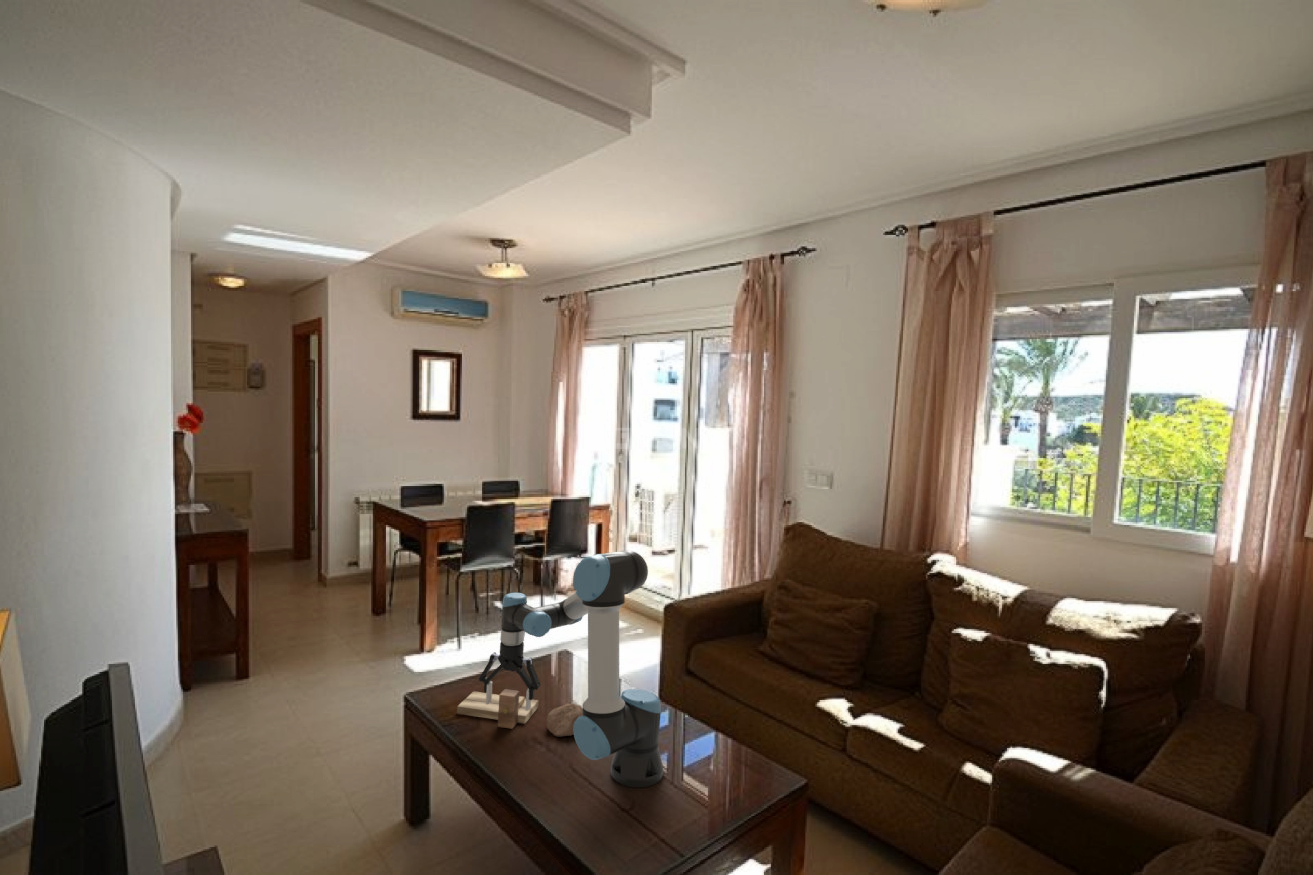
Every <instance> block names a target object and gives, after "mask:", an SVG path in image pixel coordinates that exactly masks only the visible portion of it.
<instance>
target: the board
mask: <svg viewBox="0 0 1313 875" xmlns="http://www.w3.org/2000/svg"><path fill="white" fill-rule="evenodd" d="M499 695H500V694H496V693H492V700H491V702H490V703H489V704H488V705H487V704H486V693H484V692H481V691H475V690H474V691H472V692H471V693H470V694H469V695H467V697H466V698H465V699H464V700H462V701H461V702H460V703H459V704H458V705H457V709H456V714H457V715H462V716H463V715H464V716H468V717H469V716H471V717H478V718H485V719H491V720H497V721H498V712H499ZM538 708H539V700H538V699H532V700H531V707H530V708H529V710H528V711H525V709H526V698H525V701H524V702H523V704H522V705H521V706H520V707H519V708H518V723H517V724H524V725H525V724H526V723H527V722H528V721H529V719H530V718H531V717H532V716H533V715H534V713H535V712H536V710H537V709H538Z"/></svg>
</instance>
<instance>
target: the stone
mask: <svg viewBox="0 0 1313 875" xmlns="http://www.w3.org/2000/svg"><path fill="white" fill-rule="evenodd" d="M582 712H583V706H581V705H577V704H576V703H575V702H573V703H567V702H566V703H565V704H563V705H562V706H558V707H555V708H554V709H552V710H550V712H549V713H548V714H547V718H546V728H547V730H548V731H549V732H550V733H551V734H552V735H553V736H555V737H567V736H569V737H572V735H573V736H574V731H573V727H574V723H575V721H576V719H577V718H578V717H580V716H582V714H583V713H582Z"/></svg>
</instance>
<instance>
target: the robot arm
mask: <svg viewBox="0 0 1313 875" xmlns="http://www.w3.org/2000/svg"><path fill="white" fill-rule="evenodd" d="M648 575H649V567H648V564H647V562H646V560H645V559H644V557H643V556H642V555H641V554H640V553H638V552H636V551H633V550H628V549H627V550H620V551H613V552H603V553H596V554H593V555H590V556H586V557H584V558H583V559H581V560H580V562H579V563H578V564H577V566H576V567H575V570H574V572H573V578H572V579H573V581H572V582H573V589H574V590H575V593H573V594H571V595H570V596H568V597H567V598H565V599H563V600H562V601H558V602H557V603H556V602H555V603H553V604H552V603H551V604H546V605H543V606H537V607H533V606H532V605H529V604H528V599H527V595H526V594H525V593H523V592H522V593H521V592H510V593H507V594H505V595H504V597H503V601H502V606H501V624H500V625H501V626H500V627H501V629H500V639H499V640H500V643H499V654H497V652H493V653H491V654H490V656H489V659H488V662H487V664H486V666H485V667H484V670H483V671H482V673H481V674H480V676H479V678H478V681H479V682H482V683H483V684H484V685H483V693H486V704H487V705H488V704H489V703H490V702H491V700H492V694H493V683H494V682H493V681H491V680H493V678H494V677H495V676H496V675H497V674H498V673H499V672H500V671H501V670H502V669H504V671H510V672H516V674H518V676H520V678H521V680H522V681H523V683H524V684H525V686H526V687H527V690H526V696H525V699H526V709H525V711H528V710H529V708H530V707H531V700H534V698H535V690H539V688H540V687H541V682H540V680H539V677H538V674H537V671H536V669H535V667H534V662H533V661H534V660H533V658H532V657H529V658H525V657H524V648H525V643H524V641H525V633H526V634H527V635H529V636H533V637H536V638H541V637H544V636H545V635H546V634H548V633H549V632H550V630H552V629H555V628H560V627H565V626H569V625H570V626H571V625H573V624H576V623H580V622H581V621H582V619H583V617H584V616H585V615H587V698H586V699H585V700H584V701H583V702H582V709H583V712H582V713H583V714H582V716H580V717H578V718H577V719H576V721H575V723H574V727H573V731H574V734H573V737H574V740H575V742H576V745H577V747H578V749H579V751H580V752H581V753H582V754H583V755H584V756H585V757H586V758H587V759H589V760H591V761H592V760H593V761H598V760H601V759H603V758H608V757H610V756H611V755H613V756H612V759H611V762H610V775H611V777H612V779H613V780H615V781H616V782H617V783H619V784H621V785H623V786H625V787H629V788H639V789H640V788H647V787H651V786H654V785H656V784H658V782H660V781H661V780H662V778H663V774H664V765H663V761H662V757H661V756H662V755H661V752H660V748H659V740H660V728H661V727H660V726H661V713H662V710H661V707H662V706H661V705H662V703H661V699H660V697H658V695H657V694H656V693H653V692H651V691H649V690H645V689H639V688H630V689H629V688H628V689H625V690H623V691H622V692H621V695H620V609H621V608H622V607H623V606H624V605H625V603H626V600H625V596H626V595H629V594H630V593H632V592H634V591H636V590H639V589H640V588H642V587H643V585H644V584H645V583H646V581H647V579H648ZM497 660H498V662H499V664H500V665H498V666H497V667H496V669H495V670H494V671H492V673H490V675H489V676H488V673H489V672H490V670H491V669H492V667H493V666H494V664H495V662H496V661H497ZM523 664H524V665H525V667H526V669H527V671H526V670H525V667H524V665H523ZM527 672H528V673H527ZM487 676H488V677H487Z"/></svg>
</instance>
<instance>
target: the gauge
mask: <svg viewBox="0 0 1313 875" xmlns="http://www.w3.org/2000/svg"><path fill="white" fill-rule="evenodd" d="M498 695H499V712H498V720H497V727H498V728H502V729H503V728H505V729H510V730H513V729H514V728H515V727H516V725H517V724H519V723H518V708H519V707H520V706H521V705H522V704H523V702H524V701H525V699H526V696H522V695H520V690H516V689H514V690H513V689H507V688H505V689H503V690H502V691H501V693H499V694H498Z"/></svg>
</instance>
